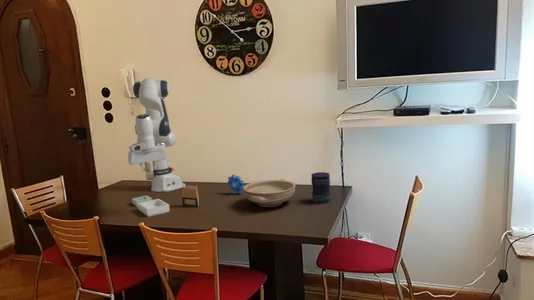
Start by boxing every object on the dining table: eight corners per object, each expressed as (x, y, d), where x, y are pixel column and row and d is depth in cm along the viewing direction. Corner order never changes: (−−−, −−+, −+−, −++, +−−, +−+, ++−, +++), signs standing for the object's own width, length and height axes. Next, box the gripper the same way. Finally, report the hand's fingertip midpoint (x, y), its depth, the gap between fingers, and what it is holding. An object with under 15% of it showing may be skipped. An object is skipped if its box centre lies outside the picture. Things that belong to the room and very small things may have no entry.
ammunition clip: (200, 206, 232) (198, 185, 230) (198, 207, 231) (196, 186, 229) (184, 204, 237) (182, 184, 235) (182, 205, 235) (180, 185, 233)
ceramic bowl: (261, 193, 251) (260, 176, 249) (306, 195, 239) (305, 178, 238) (231, 212, 218) (229, 193, 216) (281, 216, 206) (280, 196, 204)
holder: (147, 200, 252) (147, 195, 251) (152, 203, 245) (151, 198, 244) (132, 203, 247) (132, 198, 247) (137, 206, 240) (136, 201, 239)
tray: (159, 205, 239) (158, 198, 238) (169, 211, 226) (169, 204, 225) (138, 210, 233) (137, 203, 232) (148, 216, 219) (147, 209, 219)
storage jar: (333, 199, 229) (332, 172, 226) (327, 204, 220) (326, 176, 218) (315, 198, 233) (314, 171, 231) (310, 203, 224) (308, 176, 222)
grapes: (224, 195, 251) (223, 175, 249) (230, 192, 257) (228, 173, 255) (241, 196, 246) (240, 176, 244) (247, 193, 252) (245, 174, 250)
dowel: (152, 178, 229) (150, 160, 227) (155, 179, 226) (153, 161, 224) (145, 179, 227) (143, 161, 225) (147, 180, 224) (145, 162, 222)
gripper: (163, 141, 232) (165, 166, 234) (125, 147, 220) (128, 172, 223) (167, 142, 226) (169, 167, 229) (129, 148, 215) (132, 174, 218)
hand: (149, 170), depth 226 cm, fingers closed on dowel, 4 cm apart
